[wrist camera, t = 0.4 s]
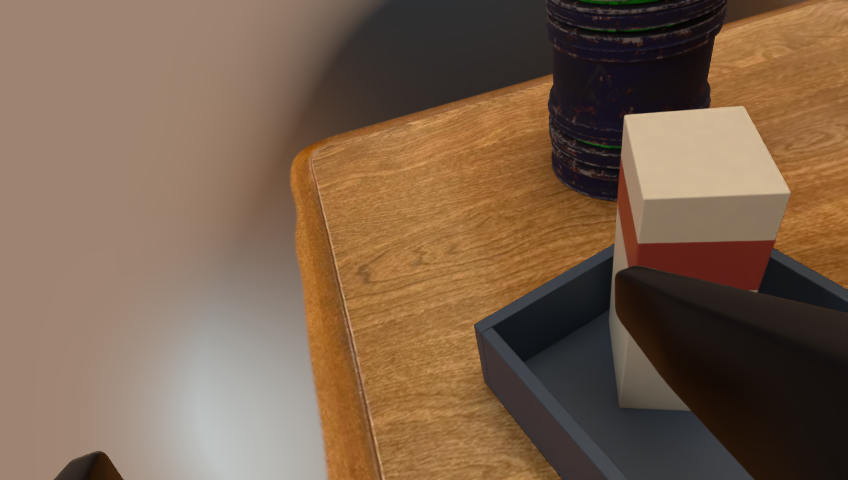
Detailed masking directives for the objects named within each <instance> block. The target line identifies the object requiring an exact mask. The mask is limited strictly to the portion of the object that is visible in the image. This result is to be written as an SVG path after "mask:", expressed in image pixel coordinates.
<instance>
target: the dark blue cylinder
mask: <svg viewBox="0 0 848 480" xmlns="http://www.w3.org/2000/svg"><path fill="white" fill-rule="evenodd" d="M726 3H727V0H546V9H547V21H546V28H547V30H548V38H549V40H550V42H551V43H552V45H553V86H552V88H551V90H550V94H549V101H548V110H549V112H550V115H549V132H550V138H551V143H552V149H553V151H552V167H553V170H554V172H555V174H556V176H557V177H558V178H559V180H560V181H562V182H563V183H564V184H565V185H566V186H568V187H569V188H571V189H572V190H575V191H577V192H579V193H581V194H584V195H587V196H590V197H593V198H598V199H603V200H611V201H617V199H618V186H619V172H620V159H621V152H622V138H623V125H624V116H625V115H631V114H644V113H657V112H670V111H683V110H696V109H709V107H710V102H711V99H710V92H711V90H710V85H709V83H708V81H707V78H708V73H709V67H710V62H711V56H712V51H713V45H714V39H715V36H716V35H717V34H718V33H719V32H720V30H721V28H722V25H723V21H724V19H725V17H726V15H727V8H726Z"/></svg>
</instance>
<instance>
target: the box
mask: <svg viewBox="0 0 848 480" xmlns="http://www.w3.org/2000/svg"><path fill="white" fill-rule="evenodd" d="M614 245H615V244H613V245H611V246H610V247H608V248H606V249H604V250H603V251H601V252H599V253H597V254H596V255H594V256H592V257H590V258H589V259H587V260H585V261H583V262H582V263H580V264H578V265H577V266H575V267H573V268H571V269H570V270H568V271H566V272H564V273H563V274H561V275H559V276H557V277H556V278H554V279H552V280H550V281H549V282H547V283H545V284H544V285H542V286H540V287H538V288H537V289H535V290H533V291H531V292H530V293H528V294H526V295H524V296H523V297H521V298H519V299H518V300H516V301H514V302H512V303H511V304H509V305H507V306H505V307H504V308H502V309H500V310H498V311H497V312H495V313H493V314H491V315H490V316H488V317H486V318H485V319H483V320H481V321H479V322H478V323H476V324H474V328H475V333H476V339H477V344H478V350H479V355H480V360H481V366H482V371H483V376H484V381H485V382H486V384H487V385H488V386H489V388H490V389H491V390H492V391H493V393H494V394H495V395H496V396H497V398H498V399H499V400H500V401H501V403H502V404H503V405H504V406H505V408H506V409H507V410H508V411H509V413H510V414H511V415H512V416H513V418H514V419H515V420H516V421H517V423H518V424H519V425H520V426H521V428H522V429H523V430H524V432H525V433H526V434H527V435H528V437H529V438H530V439H531V440H532V442H533V443H534V444H535V445H536V447H537V448H538V449H539V450H540V452H541V453H542V454H543V455H544V457H545V458H546V459H547V460H548V462H549V463H550V464H551V465H552V467H553V468H554V469H555V470H556V472H557V473H558V474H559V476H560V477H561V478H562V479H563V480H754V479H753V478H752V477H751V476H750V475H749V474H748V473H747V472H746V470H745V469H744V468H743V467H742V466H741V465H740V464H739V463H738V462H737V461H736V460H735V458H734V457H733V456H732V455H731V454H730V453H729V452H728V451H727V450H726V449H725V447H724V446H723V445H722V444H721V443H720V442H719V441H718V440H717V439H716V438H715V437H714V435H713V434H712V433H711V432H710V431H709V430H708V429H707V428H706V427H705V426H704V424H703V423H702V422H701V421H700V420H699V419H698V418H697V417H696V416H695V415H694V414H693V412H692V411H683V410H659V409H635V408H620V407H619V401H618V393H617V385H616V377H615V368H614V360H613V352H612V343H611V335H610V327H609V312H610V298H611V285H612V272H613V258H614ZM758 293H762V294H766V295H771V296H775V297H780V298H784V299H788V300H793V301H797V302H801V303H806V304H810V305H815V306H819V307H823V308H828V309H832V310H836V311H841V312H845V313H848V290H847V289H845V288H844V287H842V286H840V285H838V284H836V283H835V282H833V281H831V280H829V279H828V278H826V277H824V276H822V275H820V274H819V273H817V272H815V271H813V270H812V269H810V268H808V267H806V266H804V265H803V264H801V263H799V262H797V261H796V260H794V259H792V258H790V257H789V256H787V255H785V254H783V253H781V252H780V251H778V250H776V249H774V248H773V249H772V252H771V255H770V258H769V261H768V264H767V267H766V270H765V273H764V276H763V278H762V281H761V284H760V287H759V289H758Z"/></svg>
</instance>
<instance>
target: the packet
mask: <svg viewBox="0 0 848 480" xmlns="http://www.w3.org/2000/svg"><path fill="white" fill-rule="evenodd" d="M790 195H791V191H790V190H789V188H788V186H787V184H786V182H785V180H784V179H783V177H782V175H781V173H780V171H779V169H778V168H777V166H776V164H775V162H774V160H773V158H772V157H771V155H770V153H769V151H768V149H767V148H766V146H765V144H764V142H763V140H762V138H761V137H760V135H759V133H758V131H757V129H756V127H755V126H754V124H753V122H752V120H751V118H750V116H749V115H748V113H747V111H746V109H745V107H744V106H735V107H722V108H709V109H696V110H683V111H670V112H657V113H644V114H631V115H625V116H624V125H623V138H622V152H621V159H620V172H619V186H618V199H617V204H618V205H617V218H616V232H615V245H614V258H613V272H612V285H611V298H610V312H609V327H610V335H611V343H612V352H613V360H614V368H615V377H616V385H617V393H618V401H619V407H620V408H635V409H659V410H683V411H691V410H690V409H689V408H688V407H687V406H686V405H685V404H684V403H683V401H682V400H681V399H680V398H679V397H678V396H677V395H676V394H675V393H674V392H673V390H672V389H671V388H670V387H669V386H668V385H667V384H666V382H665V381H664V380H663V378H662V377H661V376H660V375H659V373H658V372H657V371H656V369H655V368H654V367H653V365H652V364H651V363H650V361H649V360H648V358H647V357H646V356H645V354H644V353H643V352H642V350H641V349H640V348H639V346H638V345H637V344H636V342H635V341H634V340H633V338H632V337H631V335H630V334H629V333H628V331H627V330H626V329H625V327H624V326H623V325H622V323H621V322H620V320H619V319H618V317H617V314H616V311H615V275H616V273H617V272H618V271H620V270H623V269H626V268H629V267H631V266H635V265H639V266H644V267H648V268H653V269H657V270H662V271H666V272H670V273H675V274H679V275H683V276H688V277H692V278H696V279H701V280H705V281H710V282H714V283H718V284H723V285H727V286H731V287H736V288H740V289H745V290H749V291H753V292H758V289H759V287H760V284H761V281H762V278H763V276H764V273H765V270H766V267H767V264H768V261H769V258H770V255H771V252H772V249H773V246H774V243H775V240H776V236H777V233H778V230H779V227H780V224H781V221H782V218H783V215H784V212H785V210H786V207H787V204H788V201H789V198H790Z"/></svg>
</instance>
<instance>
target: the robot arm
mask: <svg viewBox="0 0 848 480" xmlns="http://www.w3.org/2000/svg"><path fill="white" fill-rule="evenodd" d="M615 311H616V314H617V317H618V319H619V320H620V322H621V323H622V325H623V326H624V327H625V329H626V330H627V331H628V333H629V334H630V335H631V337H632V338H633V340H634V341H635V342H636V344H637V345H638V346H639V348H640V349H641V350H642V352H643V353H644V354H645V356H646V357H647V358H648V360H649V361H650V363H651V364H652V365H653V367H654V368H655V369H656V371H657V372H658V373H659V375H660V376H661V377H662V378H663V380H664V381H665V382H666V384H667V385H668V386H669V387H670V388H671V389H672V390H673V392H674V393H675V394H676V395H677V396H678V397H679V398H680V399H681V400H682V401H683V403H684V404H685V405H686V406H687V407H688V408H689V409H690V410H691V411H692V412H693V414H694V415H695V416H696V417H697V418H698V419H699V420H700V421H701V422H702V423H703V424H704V426H705V427H706V428H707V429H708V430H709V431H710V432H711V433H712V434H713V435H714V437H715V438H716V439H717V440H718V441H719V442H720V443H721V444H722V445H723V446H724V447H725V449H726V450H727V451H728V452H729V453H730V454H731V455H732V456H733V457H734V458H735V460H736V461H737V462H738V463H739V464H740V465H741V466H742V467H743V468H744V469H745V470H746V472H747V473H748V474H749V475H750V476H751V477H752V478H753V479H754V480H848V313H845V312H841V311H836V310H832V309H828V308H823V307H819V306H815V305H810V304H806V303H801V302H797V301H793V300H788V299H784V298H780V297H775V296H771V295H766V294H762V293H758V292H753V291H749V290H745V289H740V288H736V287H731V286H727V285H723V284H718V283H714V282H710V281H705V280H701V279H696V278H692V277H688V276H683V275H679V274H675V273H670V272H666V271H662V270H657V269H653V268H648V267H644V266H639V265H635V266H631V267H629V268H626V269H623V270H620V271H618V272H617V273H616V275H615ZM54 480H123V479H122V477H121V475H120V474H119V473H118V471H117V469H116V468H115V467H114V465H113V464H112V462H111V460H110V459H109V458H108V456H107V455H106V454H105V453H103V452H101V451H96V452H93V453H90V454H87V455H85V456H82V457H79V458H76V459H74V460H72V461H71V462H70V463H69V464H68V465H67V466H66V467H65V468H64V469H63V470H62V471H61V472H60V474H59V475H58V476H57V477H56V478H55V479H54Z"/></svg>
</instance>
